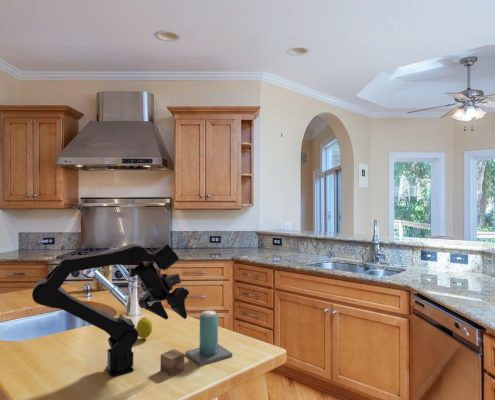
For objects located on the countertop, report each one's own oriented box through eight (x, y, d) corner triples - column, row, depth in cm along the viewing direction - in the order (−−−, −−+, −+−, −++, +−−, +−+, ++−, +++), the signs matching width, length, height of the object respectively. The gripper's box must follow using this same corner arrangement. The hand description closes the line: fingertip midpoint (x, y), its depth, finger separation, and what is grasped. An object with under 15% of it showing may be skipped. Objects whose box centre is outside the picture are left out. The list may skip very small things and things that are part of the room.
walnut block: (170, 376, 103) (171, 359, 103) (160, 371, 106) (160, 354, 106) (184, 370, 107) (184, 353, 107) (173, 365, 110) (174, 349, 110)
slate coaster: (199, 365, 110) (199, 362, 110) (185, 354, 118) (185, 351, 118) (232, 356, 117) (232, 353, 117) (217, 345, 125) (217, 343, 125)
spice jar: (200, 356, 114) (200, 316, 114) (198, 349, 120) (199, 310, 120) (218, 355, 115) (219, 314, 115) (216, 347, 121) (216, 309, 121)
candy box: (111, 288, 204) (111, 261, 204) (109, 290, 200) (109, 262, 200) (95, 288, 203) (96, 261, 203) (93, 290, 199) (93, 262, 199)
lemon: (153, 336, 133) (153, 314, 133) (149, 342, 128) (150, 319, 128) (138, 336, 133) (138, 314, 133) (134, 342, 127) (134, 319, 127)
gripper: (186, 260, 112) (210, 299, 116) (150, 267, 123) (172, 302, 127) (164, 283, 103) (190, 325, 107) (127, 288, 114) (152, 325, 118)
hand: (176, 318), depth 115 cm, fingers open, 9 cm apart
